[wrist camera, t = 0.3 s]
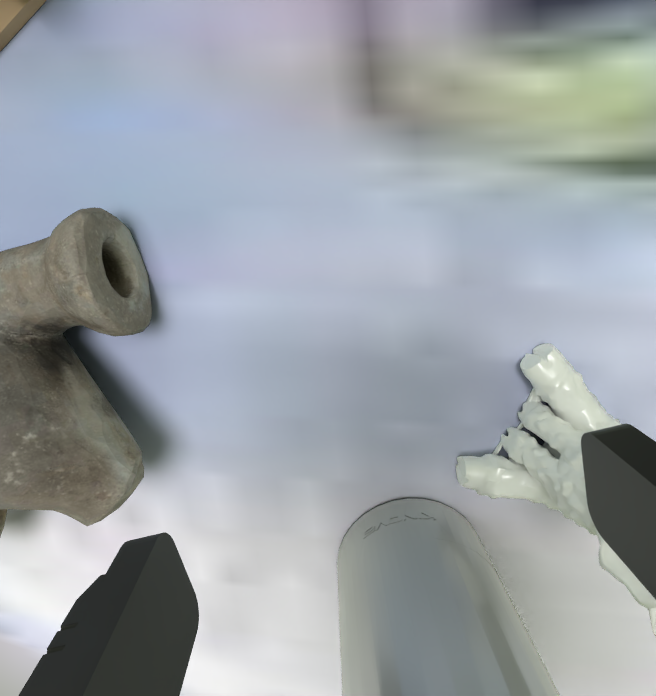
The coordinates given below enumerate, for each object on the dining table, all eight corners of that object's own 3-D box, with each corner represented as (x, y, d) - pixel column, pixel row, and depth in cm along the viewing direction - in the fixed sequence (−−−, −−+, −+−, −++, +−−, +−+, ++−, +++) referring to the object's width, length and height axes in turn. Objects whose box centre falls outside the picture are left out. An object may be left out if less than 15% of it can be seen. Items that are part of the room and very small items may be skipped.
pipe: (57, 332, 35) (61, 552, 30) (-107, 311, 28) (-135, 590, 23) (182, 219, 25) (216, 516, 20) (-24, 145, 18) (-43, 563, 14)
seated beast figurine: (532, 334, 27) (692, 412, 15) (654, 400, 28) (893, 521, 16) (445, 470, 29) (529, 632, 17) (563, 527, 30) (718, 716, 18)
